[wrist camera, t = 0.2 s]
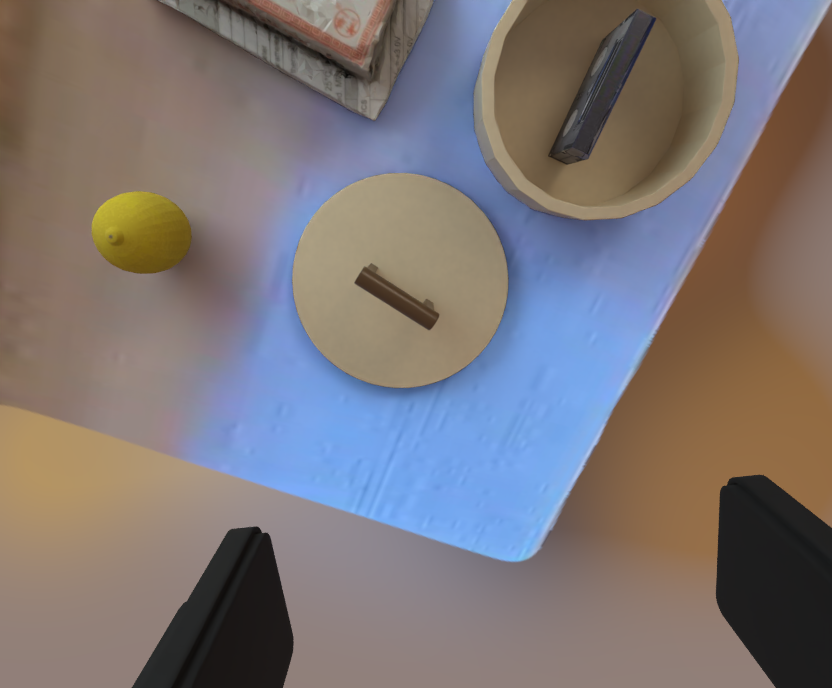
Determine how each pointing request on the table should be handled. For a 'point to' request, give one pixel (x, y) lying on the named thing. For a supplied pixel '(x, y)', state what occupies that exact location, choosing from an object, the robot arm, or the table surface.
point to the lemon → (141, 232)
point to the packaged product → (322, 41)
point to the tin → (631, 115)
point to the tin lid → (400, 280)
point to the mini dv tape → (601, 88)
